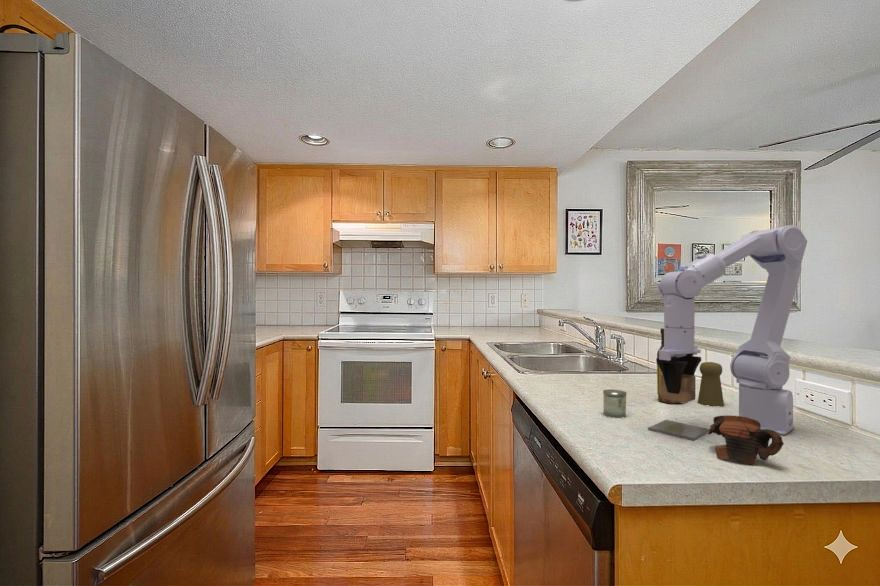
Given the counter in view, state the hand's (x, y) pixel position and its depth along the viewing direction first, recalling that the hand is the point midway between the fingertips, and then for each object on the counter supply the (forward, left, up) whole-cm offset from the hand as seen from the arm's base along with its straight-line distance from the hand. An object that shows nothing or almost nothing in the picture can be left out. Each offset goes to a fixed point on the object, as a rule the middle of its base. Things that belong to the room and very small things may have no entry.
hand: (678, 391), depth 94 cm
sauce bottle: (+12, -25, -9) cm, 29 cm away
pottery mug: (-14, +7, -9) cm, 18 cm away
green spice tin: (+15, -1, -8) cm, 17 cm away
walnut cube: (0, 0, -2) cm, 2 cm away
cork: (+4, -31, -9) cm, 32 cm away
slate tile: (0, 0, -8) cm, 8 cm away
